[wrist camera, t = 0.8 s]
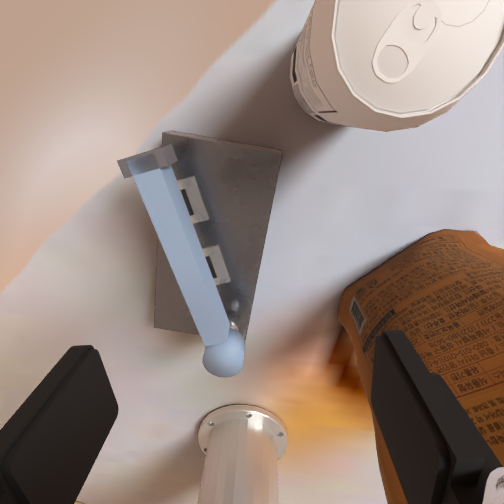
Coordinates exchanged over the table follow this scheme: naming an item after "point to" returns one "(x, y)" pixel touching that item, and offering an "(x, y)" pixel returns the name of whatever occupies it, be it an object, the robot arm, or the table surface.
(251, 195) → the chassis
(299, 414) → the table surface
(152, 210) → the bar
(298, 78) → the supplement can
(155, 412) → the table surface
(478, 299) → the pancake mix bag
